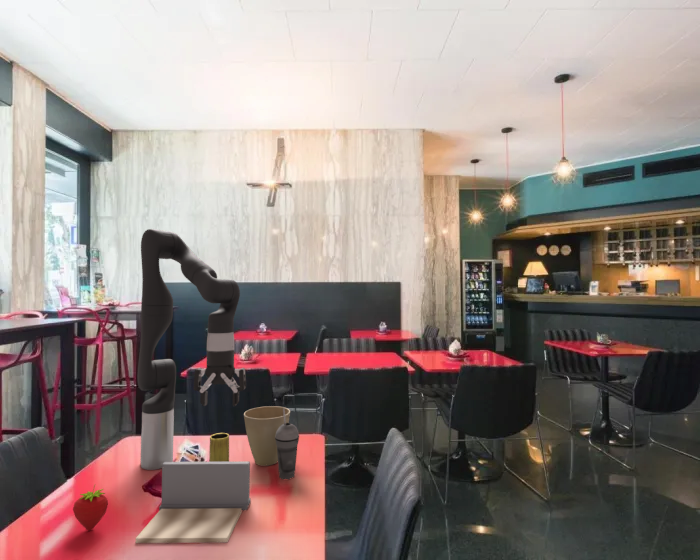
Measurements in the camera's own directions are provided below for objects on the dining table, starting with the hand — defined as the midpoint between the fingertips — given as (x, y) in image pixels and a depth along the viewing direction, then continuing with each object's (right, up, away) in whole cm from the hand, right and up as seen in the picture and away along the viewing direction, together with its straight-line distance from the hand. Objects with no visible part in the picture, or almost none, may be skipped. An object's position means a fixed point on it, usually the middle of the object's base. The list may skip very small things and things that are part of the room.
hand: (219, 405), depth 113 cm
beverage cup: (+18, -23, +6) cm, 30 cm away
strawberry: (-23, -22, -21) cm, 38 cm away
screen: (0, -22, -11) cm, 25 cm away
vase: (0, -23, -1) cm, 23 cm away
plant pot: (+10, -24, +17) cm, 31 cm away
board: (0, -22, -20) cm, 30 cm away
